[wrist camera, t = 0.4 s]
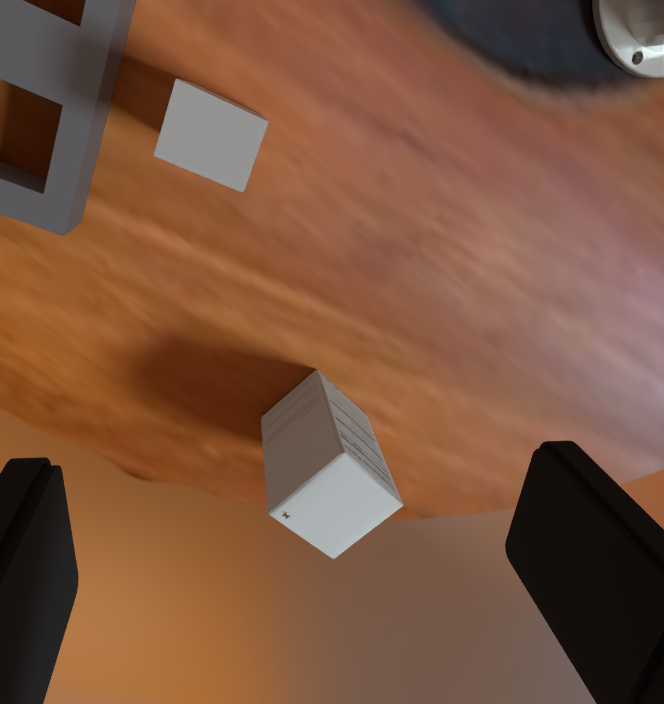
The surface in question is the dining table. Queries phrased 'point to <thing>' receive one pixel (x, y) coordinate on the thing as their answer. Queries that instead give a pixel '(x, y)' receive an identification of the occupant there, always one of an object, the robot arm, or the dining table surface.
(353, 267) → the dining table surface
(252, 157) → the plug
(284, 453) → the supplement box
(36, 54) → the power strip
